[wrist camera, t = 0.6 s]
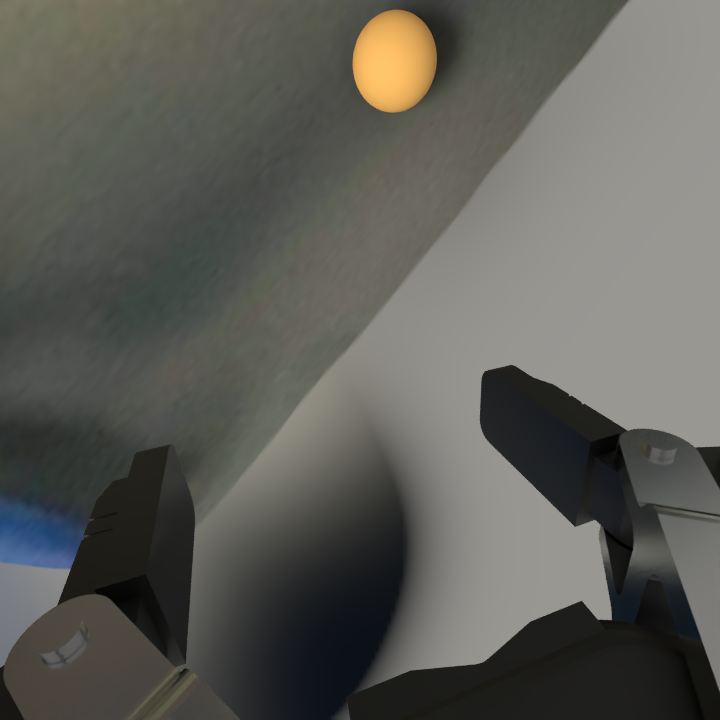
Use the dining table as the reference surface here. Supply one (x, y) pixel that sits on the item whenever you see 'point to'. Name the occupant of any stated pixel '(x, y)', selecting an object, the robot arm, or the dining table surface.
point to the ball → (394, 61)
